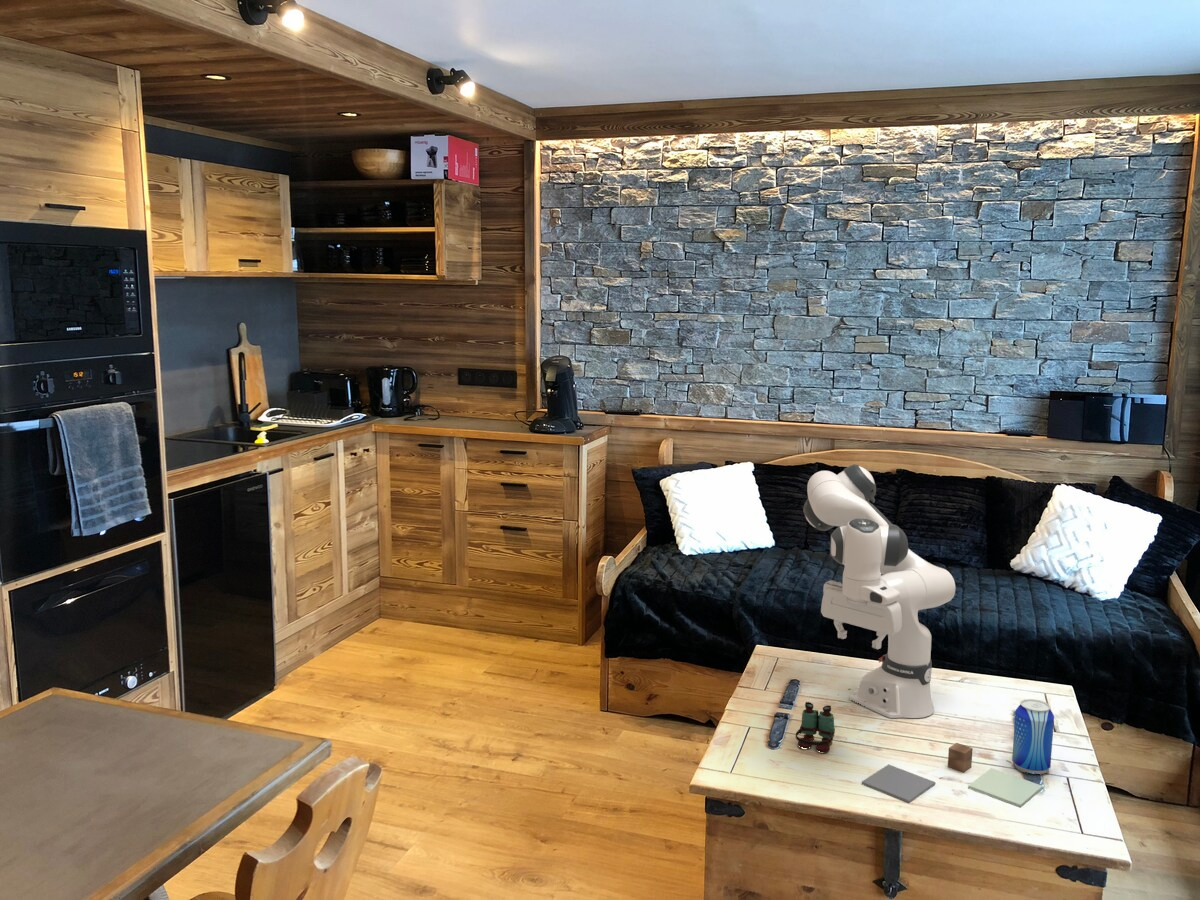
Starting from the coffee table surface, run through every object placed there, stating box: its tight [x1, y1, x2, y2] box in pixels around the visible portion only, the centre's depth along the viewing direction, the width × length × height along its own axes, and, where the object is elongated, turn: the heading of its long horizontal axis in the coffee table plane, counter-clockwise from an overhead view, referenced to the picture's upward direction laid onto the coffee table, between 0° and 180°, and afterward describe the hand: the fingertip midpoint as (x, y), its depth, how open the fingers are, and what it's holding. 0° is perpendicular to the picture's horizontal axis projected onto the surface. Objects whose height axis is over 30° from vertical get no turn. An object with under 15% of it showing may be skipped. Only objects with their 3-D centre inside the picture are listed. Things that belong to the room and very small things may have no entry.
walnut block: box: [947, 742, 973, 774], centre depth 232 cm, size 4×4×5 cm
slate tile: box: [861, 764, 936, 804], centre depth 224 cm, size 12×12×1 cm
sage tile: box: [967, 767, 1044, 808], centre depth 223 cm, size 12×12×1 cm
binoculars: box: [795, 701, 836, 753], centre depth 242 cm, size 9×11×10 cm
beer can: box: [1011, 698, 1055, 775], centre depth 231 cm, size 8×8×16 cm
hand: (859, 643), depth 233 cm, fingers open, 8 cm apart
